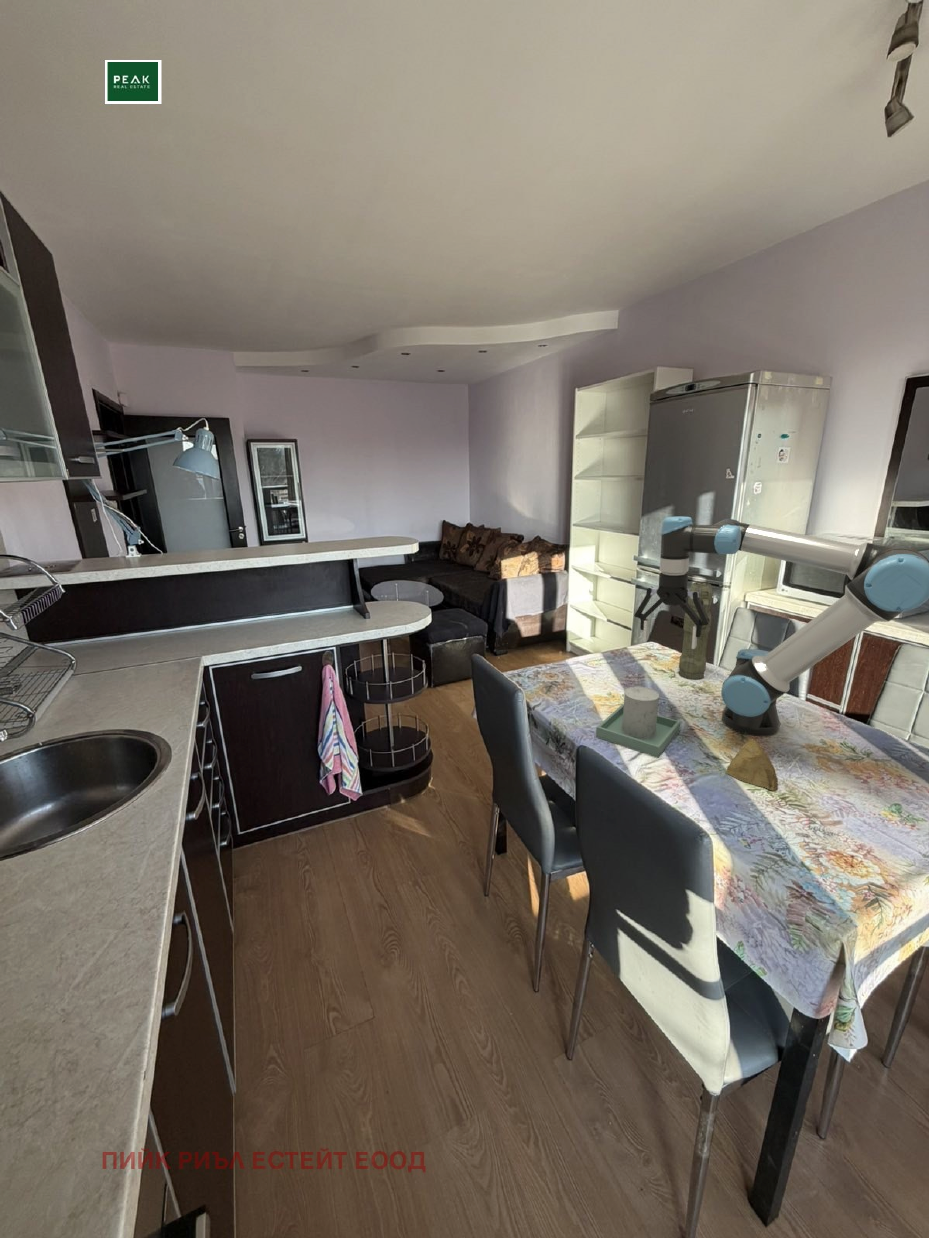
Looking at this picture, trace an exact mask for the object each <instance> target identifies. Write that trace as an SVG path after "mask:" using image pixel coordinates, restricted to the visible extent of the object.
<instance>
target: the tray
mask: <svg viewBox="0 0 929 1238" xmlns="http://www.w3.org/2000/svg"><path fill="white" fill-rule="evenodd" d="M623 708H624V704H621V705H620V706H619V707H618V708H617V709H615V710H614V711H613V712H612V713H611V714H610V715H608V717H606V718H604V720H603V721H602V722H600V723H599V724H598V725H597V726H596V731H595V737H596V738H598V739H602V740H604V741H607V742H610V743H613V744H615V745H619V746H621V747H624V748H628V749H630V750H634V751H637V752H640V753H642V754H645V755H648V756H651V757H655V758H657V759H658V758H659V757H660V756H661V754H663V752H664V751H665V750H666V748H668V746H669V743H670V744H671V742H672V741H673V740H674V738H675V737H677V735H678V734H679V733H678V732H680V731H681V720H678V719H677V720H676V719H673V718H670V717H666V716H663V715H660V714H657V723H656V735H655V737H653V738H652V739H648V740H639V739H636V738H633V737H630V736H627V735H625V734H624V733H623V732H622V721H623Z"/></svg>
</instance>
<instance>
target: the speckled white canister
mask: <svg viewBox="0 0 929 1238" xmlns="http://www.w3.org/2000/svg"><path fill="white" fill-rule="evenodd" d="M623 693H624V697H623V705H624V708H623V721H622V732H623V733H624V734H625V735H627V736H630V737H633V738H636V739H639V740H648V739H652V738H653V737H655V735H656V723H657V715H658V712H659V711H658V710H659V701H660V700H659V698H660V693H659V692H658V691H657V690H656V689H653V688H651V687H648V686H647V687H646V686H639V685H638V686H637V685H635V686H634V685H633V686H629V687H627V688H626V689H624V691H623Z"/></svg>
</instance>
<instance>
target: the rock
mask: <svg viewBox="0 0 929 1238" xmlns="http://www.w3.org/2000/svg"><path fill="white" fill-rule="evenodd" d="M724 772H725V774H726V775H729V776H731V777H734V778H735V779H737V780H739V781H741V780H742V782H744V783H746V784H749V785H750V784H751V785H755V786H756V787H762V788H764V787H765V789H766V788H767V789H768V790H770V791H775V790H777V789H778V787H779V783H778V782H779V778H778V777H777V773H776V769H775V767H774V765H773V762H772V761H771V759H770V758H769V755H768V754H767V753H766V752H765V749H763V747H762V746H761V744H760V743H759V742H758V741H757V740H755V739H753V738H749V739H748V740H747V741H746V742H745V743H744V744H743V746H742V747H740V749H739V750H738V751H737V752H736V755H735V756H734V757H733V758H732V759H731V761H730V763H729V765H728V766H727V767H726V770H725V771H724Z"/></svg>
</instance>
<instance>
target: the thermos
mask: <svg viewBox="0 0 929 1238" xmlns="http://www.w3.org/2000/svg"><path fill="white" fill-rule="evenodd" d="M696 590H698V591H699V598H700V600H701V603H702V605H703V607H704V609H705V611H706V614H707V616H708V618H709V620H710V622H709V624H708V625H704V626H702V634H701V636H700V637H697V646H696V648H695V649H692V636H693V626H694V625H695V623H694V622H693V621H692V619H691V618H690V617H689V616H688V614H687V613H686V612H685V614H684V618H683V619H684V620H683V625H682V626H683V628H682V629H683V631H684V633H683V640H682V649H681V651H682V652H681V655H680V656H679V662H678V668H679V669H678V675H679V677H681V678H683V679H687V680H691V681H697V680H699V681H700V680H703V679H704V677H705V672H706V667H707V656H706V654H707V645H708V639H709V637H708V636H709V633H710V631H711V625H712V614H711V607H712V603H713V601H712V600H713V593H714V592H713V588H712V584H710V583H709V582H707V581H696V582H693V583H692V584H691V586H690V588H689V589H688V592H689V591H696ZM687 602H688V604H689V605H690V607H691V608H692V609H693V610H694V612H695V613H696V614H697V615H698V617H699V618H700V619H701V617H700V615H699V613H698V611H697V609H696V606H695V604H694V602H693V599H691V598H690V596H687ZM701 621H702V620H701Z"/></svg>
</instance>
